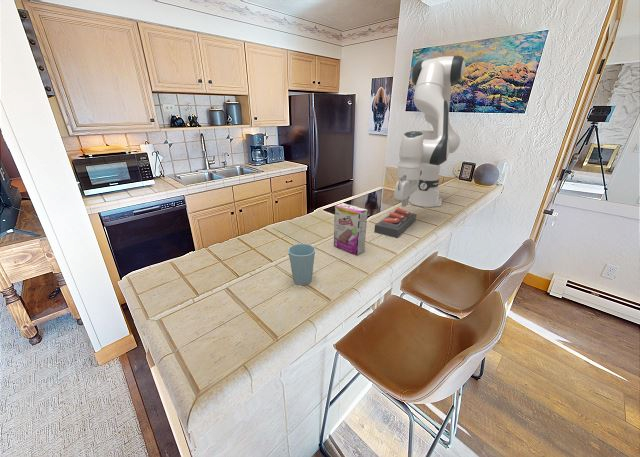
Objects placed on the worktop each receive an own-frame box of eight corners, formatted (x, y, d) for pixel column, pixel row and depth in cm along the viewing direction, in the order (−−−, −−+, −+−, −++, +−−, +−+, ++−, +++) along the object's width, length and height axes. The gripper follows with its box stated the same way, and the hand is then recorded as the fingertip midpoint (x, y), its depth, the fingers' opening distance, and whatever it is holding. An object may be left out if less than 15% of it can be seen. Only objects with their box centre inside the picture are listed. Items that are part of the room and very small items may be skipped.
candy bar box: (332, 246, 101) (333, 205, 94) (341, 242, 104) (342, 202, 98) (357, 256, 94) (359, 212, 87) (365, 251, 97) (368, 209, 91)
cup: (316, 287, 77) (315, 255, 73) (289, 288, 76) (287, 256, 72) (314, 273, 84) (314, 243, 80) (290, 274, 83) (288, 243, 79)
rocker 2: (391, 213, 121) (392, 211, 120) (404, 218, 118) (405, 216, 117) (389, 215, 118) (389, 213, 118) (402, 220, 116) (402, 218, 115)
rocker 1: (385, 220, 116) (385, 218, 115) (399, 220, 112) (399, 218, 112) (383, 222, 113) (382, 220, 113) (396, 222, 110) (396, 220, 109)
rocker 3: (397, 209, 126) (398, 207, 125) (409, 214, 123) (410, 212, 123) (395, 211, 124) (395, 209, 123) (407, 216, 121) (408, 214, 120)
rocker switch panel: (397, 214, 134) (398, 206, 133) (417, 218, 129) (419, 210, 127) (374, 232, 113) (375, 222, 112) (396, 238, 108) (398, 228, 106)
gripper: (407, 179, 100) (403, 214, 105) (423, 170, 115) (419, 201, 121) (391, 177, 103) (388, 211, 109) (408, 168, 119) (405, 198, 124)
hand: (404, 205), depth 115 cm, fingers closed
